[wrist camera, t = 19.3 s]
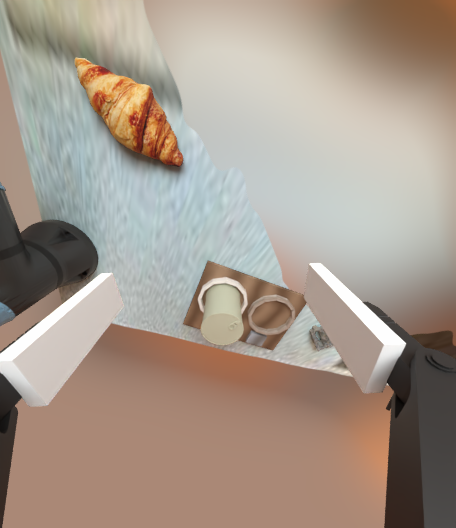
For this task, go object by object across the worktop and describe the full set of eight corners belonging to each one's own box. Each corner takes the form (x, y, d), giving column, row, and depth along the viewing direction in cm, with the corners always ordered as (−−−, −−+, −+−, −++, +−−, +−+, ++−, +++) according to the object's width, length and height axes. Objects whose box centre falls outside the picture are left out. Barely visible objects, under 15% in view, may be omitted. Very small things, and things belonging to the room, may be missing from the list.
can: (246, 302, 51) (252, 336, 40) (218, 316, 53) (216, 353, 42) (228, 276, 48) (228, 307, 37) (198, 293, 50) (191, 326, 39)
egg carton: (343, 315, 55) (352, 325, 52) (346, 333, 58) (354, 344, 55) (307, 325, 57) (313, 335, 53) (311, 342, 60) (317, 353, 56)
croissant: (89, 92, 36) (50, 96, 31) (95, 23, 29) (44, 13, 23) (180, 175, 42) (160, 190, 36) (203, 134, 35) (183, 146, 29)
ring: (187, 322, 54) (186, 326, 53) (208, 271, 47) (208, 273, 46) (228, 334, 56) (228, 338, 55) (254, 287, 49) (255, 290, 48)
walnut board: (183, 321, 55) (182, 327, 53) (207, 260, 47) (207, 264, 45) (272, 347, 60) (274, 354, 58) (308, 296, 52) (311, 302, 50)
